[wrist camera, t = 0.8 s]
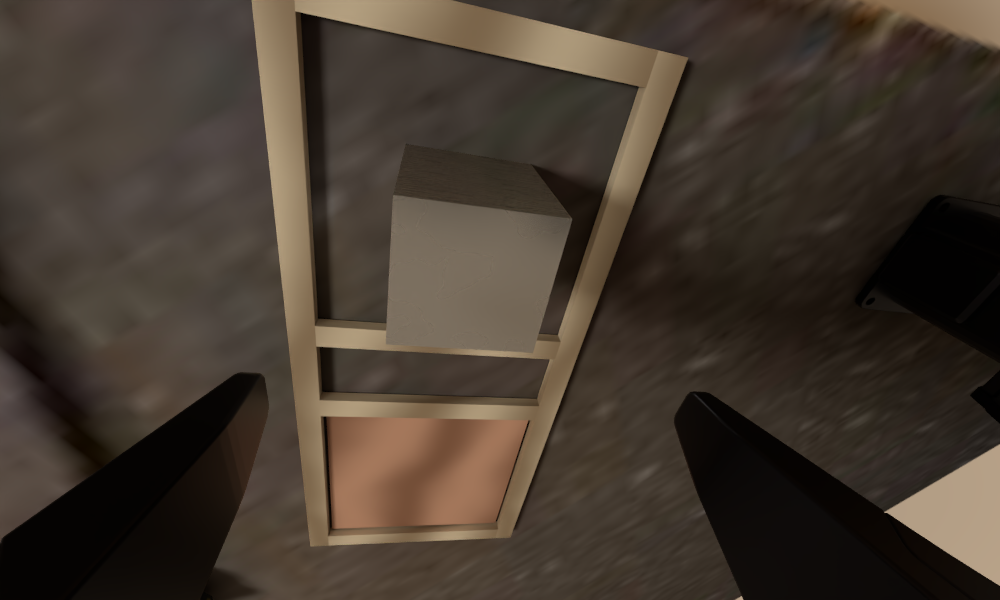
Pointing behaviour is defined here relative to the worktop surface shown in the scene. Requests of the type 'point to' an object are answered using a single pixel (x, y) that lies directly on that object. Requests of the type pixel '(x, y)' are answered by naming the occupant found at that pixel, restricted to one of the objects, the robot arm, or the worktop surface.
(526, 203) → the metal block
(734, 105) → the worktop surface
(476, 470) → the rectangular frame with crossbars
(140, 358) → the worktop surface
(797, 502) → the robot arm
